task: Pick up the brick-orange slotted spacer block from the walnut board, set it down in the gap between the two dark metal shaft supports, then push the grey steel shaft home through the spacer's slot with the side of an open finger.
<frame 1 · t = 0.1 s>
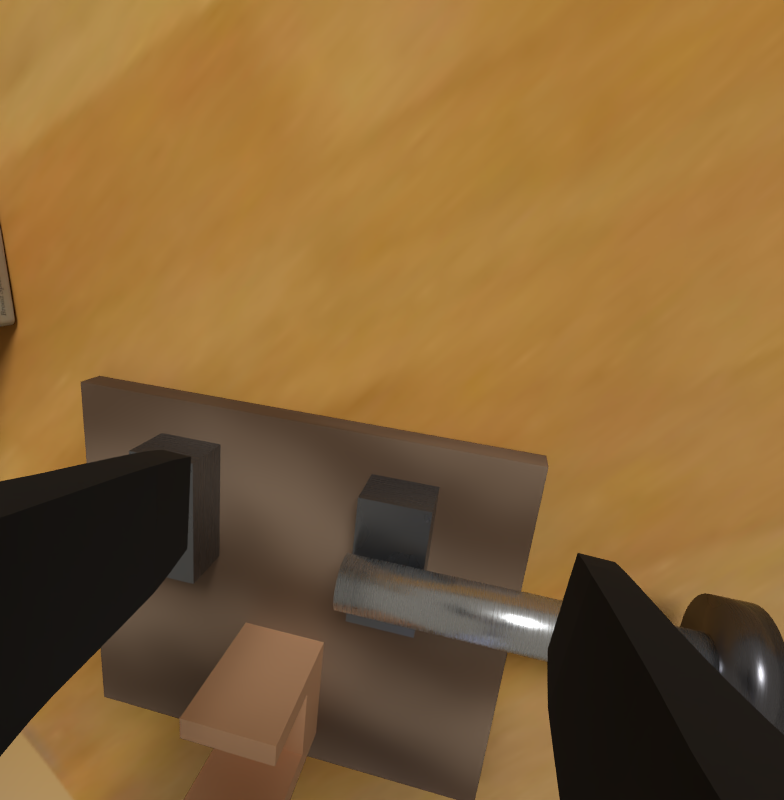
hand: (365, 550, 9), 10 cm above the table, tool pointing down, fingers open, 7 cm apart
board: (295, 587, 22), on the table
spacer: (281, 678, 23), point 1 cm above the table, touching board
supports: (421, 530, 20), resting on board
shaft: (532, 625, 16), point 4 cm above the table, slide at 7.5 cm
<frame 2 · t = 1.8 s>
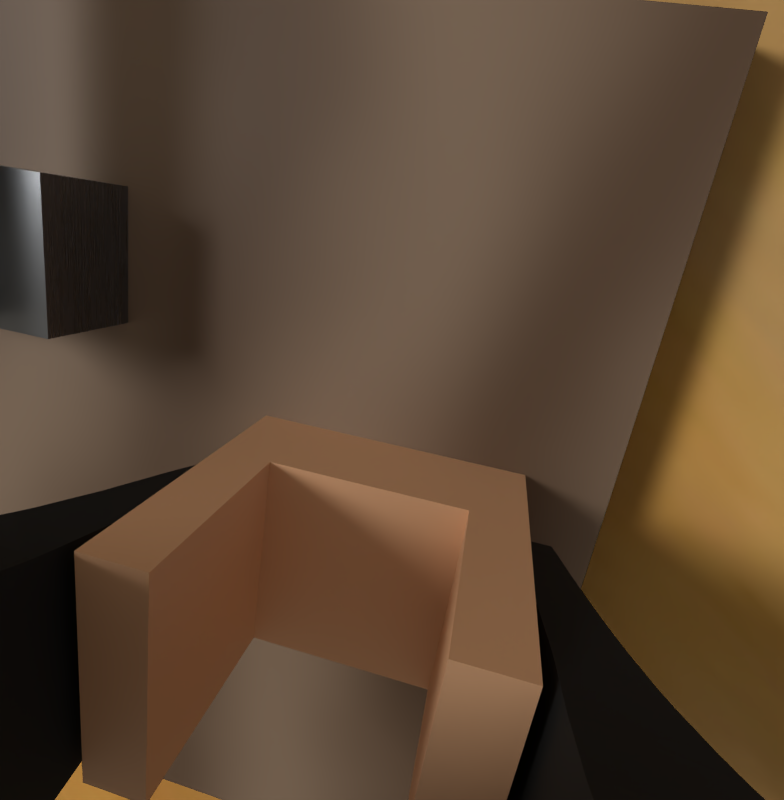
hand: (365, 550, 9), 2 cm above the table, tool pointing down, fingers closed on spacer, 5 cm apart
board: (217, 459, 12), on the table
spacer: (377, 525, 10), point 1 cm above the table, touching board, gripper
supports: (53, 199, 11), resting on board
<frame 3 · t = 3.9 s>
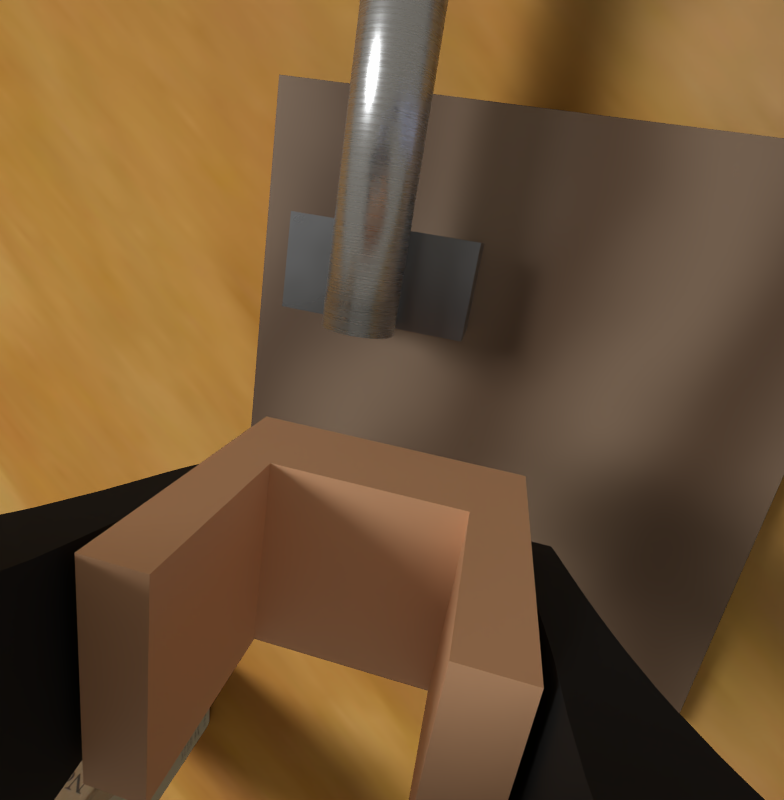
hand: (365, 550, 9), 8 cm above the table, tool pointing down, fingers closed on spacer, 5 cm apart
box: (160, 669, 24), on the table
board: (495, 424, 17), on the table
spacer: (377, 525, 10), point 8 cm above the table, touching gripper
supports: (401, 246, 16), resting on board
shaft: (397, 48, 11), point 4 cm above the table, slide at 7.5 cm
when the fingers open (2 cm above the table, at t = 5.9 s): spacer stays where it is, resting on board.
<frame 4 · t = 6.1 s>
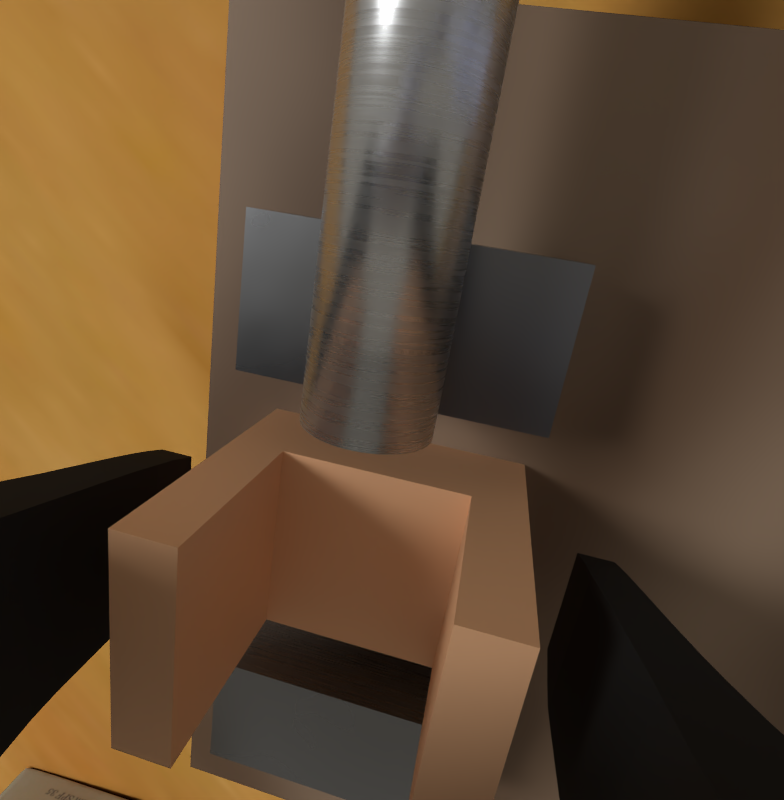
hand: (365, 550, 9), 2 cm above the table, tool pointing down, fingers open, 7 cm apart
board: (574, 535, 11), on the table
spacer: (382, 513, 11), point 1 cm above the table, touching board
supports: (432, 264, 10), resting on board
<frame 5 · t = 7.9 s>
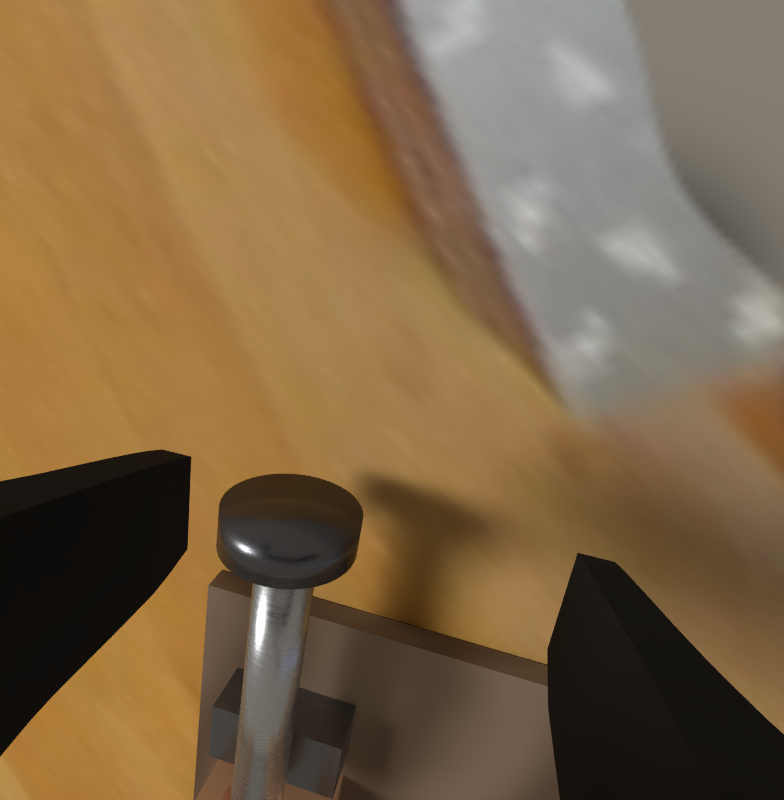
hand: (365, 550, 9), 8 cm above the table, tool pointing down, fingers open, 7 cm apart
board: (377, 792, 23), on the table
spacer: (281, 784, 22), point 1 cm above the table, touching board
supports: (303, 676, 22), resting on board
shaft: (272, 673, 17), point 4 cm above the table, slide at 7.5 cm
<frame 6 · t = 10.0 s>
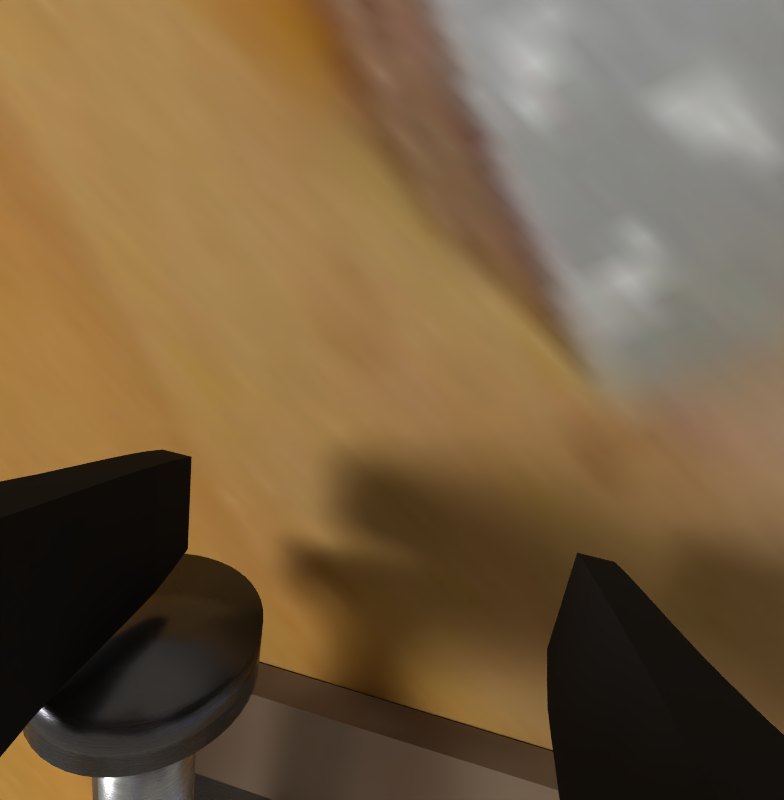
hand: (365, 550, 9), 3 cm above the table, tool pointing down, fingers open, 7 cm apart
supports: (231, 759, 16), resting on board
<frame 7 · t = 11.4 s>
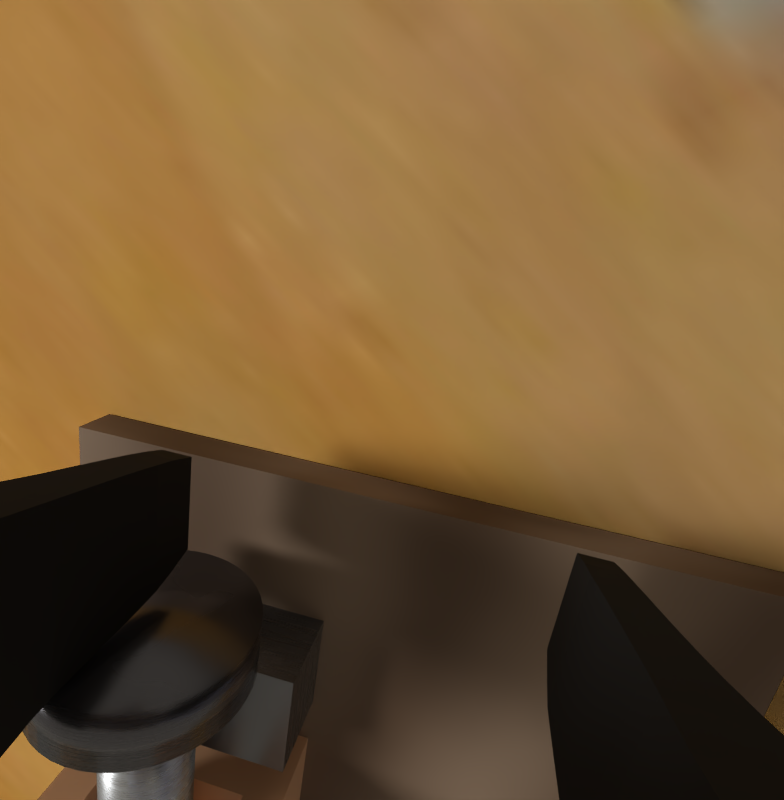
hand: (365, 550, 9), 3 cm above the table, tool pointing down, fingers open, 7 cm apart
board: (363, 768, 15), on the table
spacer: (216, 757, 14), point 1 cm above the table, touching board
supports: (244, 585, 14), resting on board
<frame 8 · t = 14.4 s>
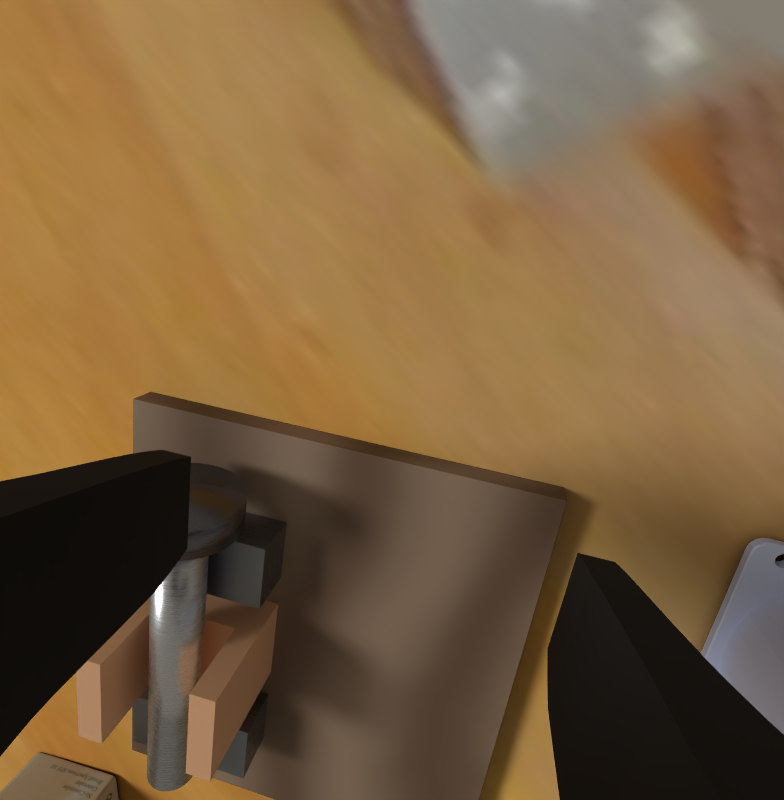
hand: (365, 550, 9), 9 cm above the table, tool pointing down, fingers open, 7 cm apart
box: (82, 786, 29), on the table
board: (317, 631, 22), on the table
spacer: (218, 622, 22), point 1 cm above the table, touching board
supports: (237, 505, 21), resting on board
shaft: (176, 643, 18), point 4 cm above the table, slide at 0.0 cm
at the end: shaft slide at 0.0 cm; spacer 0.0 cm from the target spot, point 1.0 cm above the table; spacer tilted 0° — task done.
